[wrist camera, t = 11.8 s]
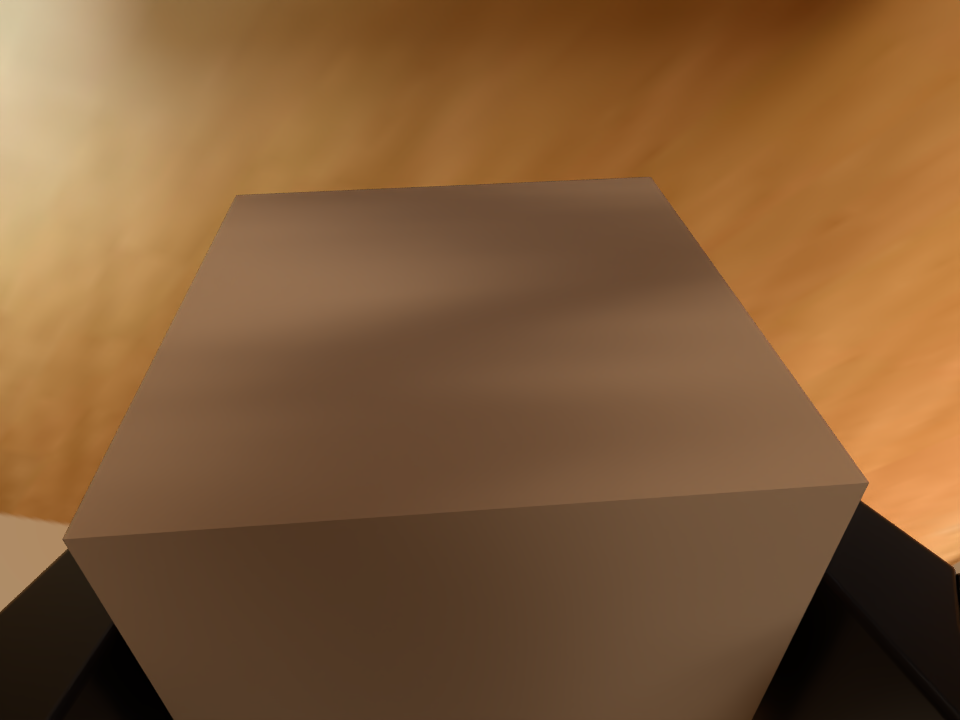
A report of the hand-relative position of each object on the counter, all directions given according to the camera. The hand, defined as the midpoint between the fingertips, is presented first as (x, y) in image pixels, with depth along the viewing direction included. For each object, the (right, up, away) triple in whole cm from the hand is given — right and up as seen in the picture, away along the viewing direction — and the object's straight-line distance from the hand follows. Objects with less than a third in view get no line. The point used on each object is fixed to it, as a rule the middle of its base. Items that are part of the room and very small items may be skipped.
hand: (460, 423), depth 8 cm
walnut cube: (0, +1, +1) cm, 2 cm away
